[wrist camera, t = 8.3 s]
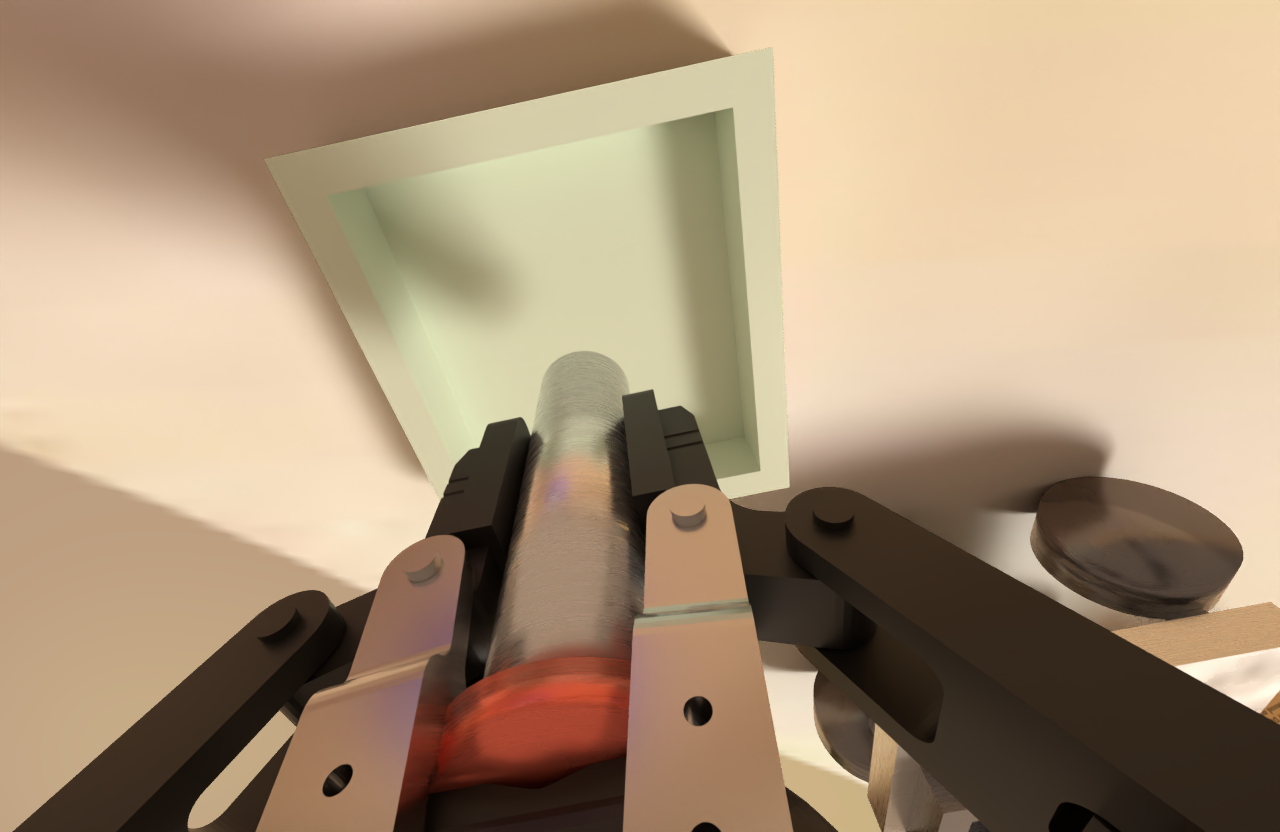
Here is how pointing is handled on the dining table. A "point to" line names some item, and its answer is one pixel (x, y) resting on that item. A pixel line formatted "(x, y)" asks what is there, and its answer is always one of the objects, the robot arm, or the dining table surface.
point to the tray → (567, 258)
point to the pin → (559, 599)
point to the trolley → (1127, 582)
